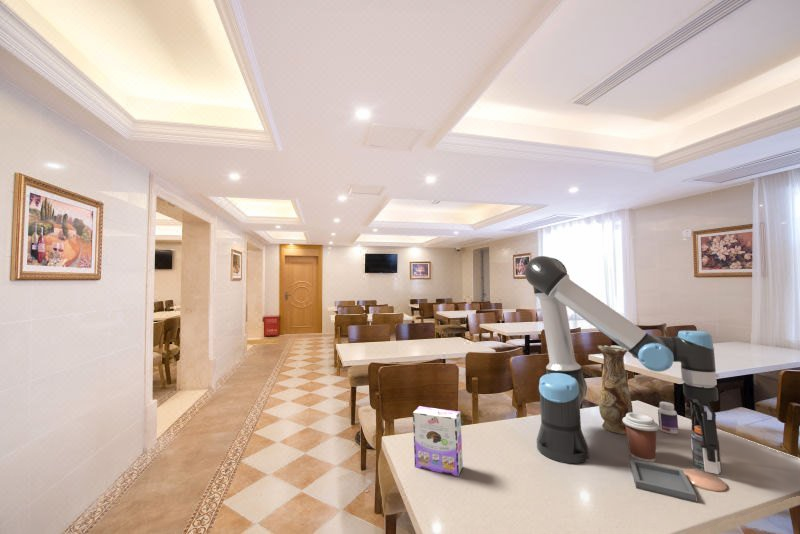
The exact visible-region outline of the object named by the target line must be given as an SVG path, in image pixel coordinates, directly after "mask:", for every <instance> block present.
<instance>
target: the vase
mask: <svg viewBox="0 0 800 534" xmlns="http://www.w3.org/2000/svg"><path fill="white" fill-rule="evenodd" d="M597 347H598V349H599V350H600V352H601V354H602V356H603V365H602V366H603V367H602V375H601V383H600V391H599V399H598V406H599V407H598V409H599V414H600V418H601V419H602V420H603V421H604V422H603V423H602V424H601V426H602V427H603V428H604V430H607V431H609V432H612V433H616V434H623V435H624V434H626V435H627V432H626V426H625V424H624V423H623V421H622V419H623V418H624V417H626V414H627V413H630V412H634V411H633V404H632V398H631V397H632V396H631V394H630V389H629V383H628V379H627V374H626V369H625V362H624V361H625V360H624V357H625V355H626V354H627V352H628V351H627V350H626V349H624V348H623V347H622V346H620V345H610V346H608V345H604V346H603V345H601V344H600V345H597Z"/></svg>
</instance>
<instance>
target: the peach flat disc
mask: <svg viewBox="0 0 800 534" xmlns="http://www.w3.org/2000/svg"><path fill="white" fill-rule="evenodd" d="M682 470H683V471H684V473H685V475H686V477H687V479H688V481H689V483H690V484H691V486H694V487H696V488H700V489H703V490H706V491H710V492H716V493H717V492H718V493H719V492H724V491H726V490H727V484H726V482H725V481H724V480H722V479H721V478H719V477H718V476H717V475H714V474H713V473H709V472H705V471H703V470H700V469H694V468H692V469H691V468H684V469H682Z"/></svg>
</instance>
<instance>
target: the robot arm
mask: <svg viewBox="0 0 800 534" xmlns="http://www.w3.org/2000/svg"><path fill="white" fill-rule="evenodd" d="M524 277H525V279H526V281H527V282H528V284H530V285H531V286H532V288H533V294H534V296H536V297H537V298H538V299H539V304H540V311H541V315H542V323H543V329H544V335H545V342H546V349H547V355H548V360H549V362H548V364H547V365H546V366H545V369H546V374H544V375H542V376H541V377H540V378H539V382H538V383H539V384H538V391H539V402H540V403H539V404H540V421H541V422H540V423H541V424H540V427H539V431H538V433H537V437H536V448H537V450H538V451H539V453H541V454H542V455H543V456H545V457H547V458H549V459H551V460H554V461H557V462H561V463H564V464H565V463H566V464H580V463H582V464H583V463H585V462H586V461H588V460H589V459H590V451H589V446H588V444H587V441H586V438H585V436H584V433H583V430H582V425H581V424H582V422H581V421H582V420H581V404H583V403H582V402H583V401H584V399H585V398H586V396H587V392H588V386H587V381H586V379H585V377H584V375H583V370H582V366H581V364H579V363H578V362H577V361H576V357H575V351H574V344H573V339H572V333H571V328H570V327H571V326H570V320H569V315H568V310H567V308H569V309H570V310H571V311H573V312H574V313H576V314H577V315H578V316H579V317H581V318H582V319H583V320H584V321H586V322H587V323H589V324H590V325H592V326H593V327H594V328H595V329H597V330H598V331H600V332H601V333H602V334H604V335H605V336H606V337H608V338H609V339H611V340H612V341H613V342H614V343H616V344H617V345H618V346H620V347H622V348H624V349H626V350H627V352H628V353H629V354H630V355H631V356H632V357H633V358H635V359H637V360H638V361H639V362H640V363H641V365H642V366H643V367H645V369H648V370H650V371H653V372H658V373H659V372H664V371H667V370H669V369H670V368H671V367H672V366H673V364H674V363H680V373H681V380H682V381H683V383H682V392H683V395H684V396H685V397H687V398H688V400H689V405H690V416H691V417H690V420H691V431H692V432H693V433H694V432H695V428H694V427H695V426H700V427H701V433H702V439H703V444H704V445H700V446H701V448H703V459H704V469H705V471H704V472H706V473H709V472H710V473H709V474H715V475H719V474H720V473H719V472H718V462H717V452H716V450H718V451H719V448H720V443H719V444H718V441H719V438H718V437H719V436H718V431H717V422H716V421H717V420H716V418H717V415H716V413H715V412H714V409H713V406H711V404H710V402H717V401H719V399H720V398H719V391H718V390H719V389H718V387H717V385H718V383H717V378H719V377H720V376H719V374H717V372H716V357H715V348H714V347H715V346H714V342H713V338H712V334H710V333H708V332H706V331H700V330H679V331H678V333H677V336H661V335H651V334H649V333H648V332H646V331H645V330H643V329H642V328H640V327H639V326H638V325H636V324H635V323H633V322H632V321H630V320H629V319H628V318H626V317H624V316H623V315H621V314H620V313H618V312H617V311H616V310H615V309H613V308H611V307H610V306H609V305H608V304H606V303H604V302H603V301H601V300H600V299H598V298H597V297H596V296H594V295H593V294H591V293H590V292H588V291H587V290H585V289H584V288H583V287H581V286H580V285H579V284H577V283H575V282H574V281H573V280H571V279H570V275H569V274H568V270H567V268H566V265H565V264H564V263H563V262H562V261H560V259H557V258H554V257H549V256H545V255H541V256H536V257H533V258H532V259H530V260H529V261H528V262H527V264H526V265H525V268H524Z"/></svg>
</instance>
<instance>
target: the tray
mask: <svg viewBox="0 0 800 534" xmlns="http://www.w3.org/2000/svg"><path fill="white" fill-rule="evenodd" d="M629 466H630V470H631V474H632V477H633V482H634V485H635V489H639V490H642V491H646V492H651V493H655V494H659V495H662V496H667V497H672V498H674V499H675V498H676V499H679V500H684V501H688V502H693V503H696V504H697V503H698V498H697V494H696V492H695V490H694V488H693V485H692V484H690V483H689V481H688V479H687V477H686V475H685V473H684V471H683V469H681V468H680V469H679V468H675V467H670V466H664V465H660V464H655V463H652V462H651V463H650V462H647V461H642V460H635V459H629Z"/></svg>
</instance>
